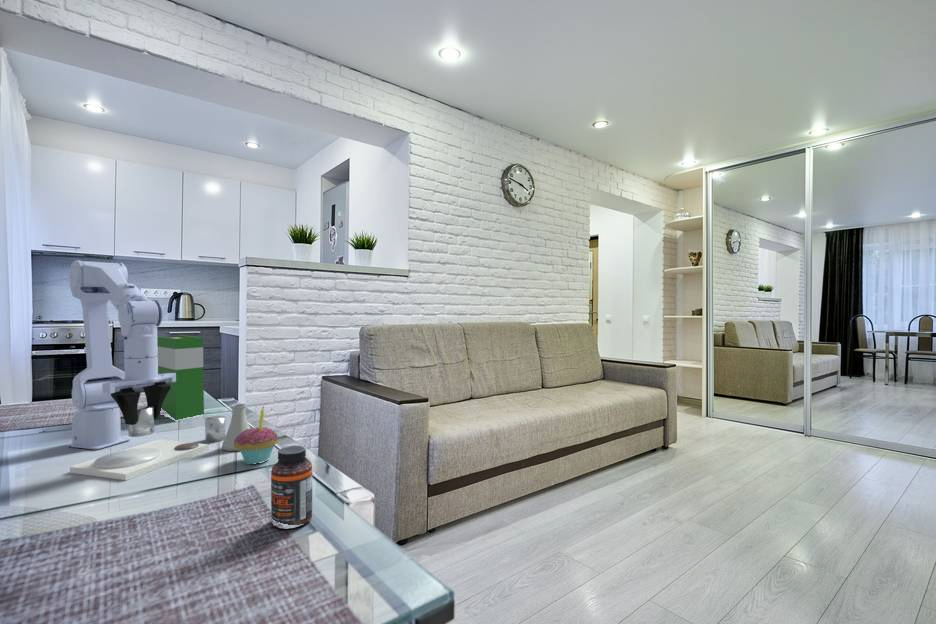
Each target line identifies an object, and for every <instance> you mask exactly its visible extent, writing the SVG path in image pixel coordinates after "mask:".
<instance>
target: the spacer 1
mask: <svg viewBox="0 0 936 624" xmlns="http://www.w3.org/2000/svg"><path fill="white" fill-rule="evenodd" d="M127 428H128V437H129V438H130V437H131V438H136V437H137V438H138V437H146V436H149V435H152V434H154V433H155V419H154V406H147V405H139V406H137V422H136V424H135V425H128V427H127Z"/></svg>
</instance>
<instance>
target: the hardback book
mask: <svg viewBox="0 0 936 624" xmlns="http://www.w3.org/2000/svg"><path fill="white" fill-rule="evenodd" d="M157 346H158V374H165V373H176V382H167V383H166V384H170V385H171V389H170V390H169V392H168V393H167V395H166V397H165V399H164V401H163V404H162V407H161V408H162V409H163V410H164V411H166V412H167V413H168V414H169V415H170V416H171V417H173V418H174V419H175V420H178V419H183V418H187V417H193V416H196V415H201V414H204V415H205V401H204V400H205V399H204V397H205V395H204V394H205V390H204V389H205V388H204V387H205V386H204V385H205V384H204V383H205V382H204V336H195V335H194V336H193V335H187V334H186V335H185V334H177V336H176V337H168V336H160V335H157Z"/></svg>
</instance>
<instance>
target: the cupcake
mask: <svg viewBox="0 0 936 624" xmlns="http://www.w3.org/2000/svg"><path fill="white" fill-rule="evenodd" d="M264 408H265V406H262V409H261V410H260V414H259V415H260V416H259V423H258V427H253V428H251V427H250V429H246V430H245V431H243V432H242V433H241V434H239V435H238V436H237V437H236V439H235V440H234V447H235V448H237V449H239V450H238V451H240V453H241V455H242V458H243V461H244V463H245V464H246V463H247V465H249V464H254V463H259V462H262V461H265V460H267V459H268V458H270V459H271V455H272V451H273V449H274V447H275V446H276V444H277V442H278V439H279V436H278V434H277V432H276V431H274V430H273V429H271V428H268V427H266V426H263V425H264V415H265V410H264Z"/></svg>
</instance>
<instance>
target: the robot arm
mask: <svg viewBox="0 0 936 624" xmlns="http://www.w3.org/2000/svg"><path fill="white" fill-rule="evenodd" d="M69 268H70V269H69V284H70V285H69V286H70V292H71V296H72V297H73V298H76V299H79V300H80V303H81V304H80V305H81V309H82V319H83V332H84V333H83V334H84V343H85V344H84V345H85V355H86V356H85V357H86V368H85V369H83V370H82V371H80V372H79V373H78V374H76V375H75V376H74V377H73V379H72V388H71V399H72V400H71V401H72V404H73V406H74V407H75V408H77V409H78V410H76V411H75V412H74V414H73V416H72V418H71V419H72V420H71V441H72V442H71V443H69V444H67V447H69V446H71V447H70V448H80V449H87V450H93V451H94V450H102V449H104V448H107V447H111V446H115V445H117V444H121V443H124V442H127V441H130V440H131V438H130V437H122V435H121V434H122V433H121V430H122V429H121V428H122V427H121V414H122V417H123V420H124V423H125V425H135V424H136V422H137V407H138V405H139V400H140V396H141V395H142V392H141V391H135V389H139V388H142V389H143V391H144V395H145V398H146V406H154V420H156V419H159V417H160V415H159V414H160V411H161V407H162V404H163V401H164V399H165V397H166V395H167V393H168V392H169V390H170V389H171V385H170V384H166V383H167V382H176V373H165V374H158V346H157V336H158V327H159V326H161V323H162V321H163V308H162V305H161V303H160V301H159V300H157V299H149V298H147V297H146V295H145V294H143V292H142V291H141V290H140V289H139V288H138V287H137V286H136V285H135V284H134V283H128V280H129V279H128V278H129V274H128V268H127V267H126V265H125V264H124V263H123V262H101V261H88V260H87V261H84V260H80V259H76V260H74V261H73V262H72V263H71V265H70V267H69ZM109 301H110V303H111V304H112V305H113V307H114V308H115V310H116V311H117V317H118V322H119V325H120V334H121V336H122V337H123V352H124V353H123V354H124V359H123V361H124V365H123V366H124V370H122V369H120V368H118V367H116V366H114V365H113V357H112V344H111V343H112V342H111V332H110V321H109V310H108V309H109V308H108V302H109ZM105 378H107V379H105ZM98 379H100V380H98ZM101 379H102V380H101ZM90 380H91V381H90Z"/></svg>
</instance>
